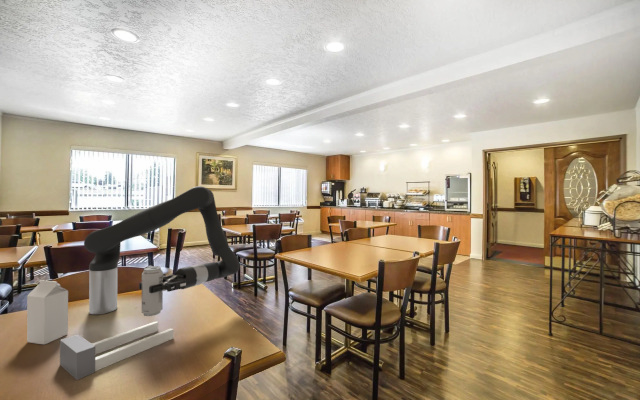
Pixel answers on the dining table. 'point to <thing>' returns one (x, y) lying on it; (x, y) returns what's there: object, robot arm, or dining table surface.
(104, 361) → the stop channel
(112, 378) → the dining table surface
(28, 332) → the milk carton
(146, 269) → the energy drink can
